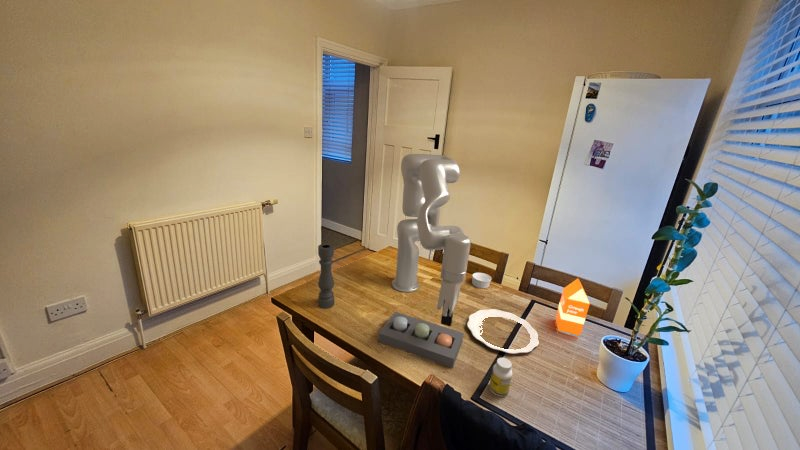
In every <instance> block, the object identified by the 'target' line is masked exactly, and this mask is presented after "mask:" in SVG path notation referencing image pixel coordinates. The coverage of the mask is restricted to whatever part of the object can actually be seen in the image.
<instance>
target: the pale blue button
mask: <svg viewBox="0 0 800 450" xmlns="http://www.w3.org/2000/svg"><path fill="white" fill-rule="evenodd" d="M393 329H394V330H396V331H399V332H405V331H406V330H407V319H406V318H404V317H396V318H394V323H393Z"/></svg>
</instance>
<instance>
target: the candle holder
mask: <svg viewBox="0 0 800 450" xmlns="http://www.w3.org/2000/svg"><path fill="white" fill-rule="evenodd" d="M317 250H318V251H317V255H318V256H319V259H320V260H319V261H318V264H319V265H320V274H319V278H318V282H317V285H318V288H319V289H320V292H319V293H318V296H317V297H318V298H317V305H318V307H319V308H320V309H322V310H327V309H331V308H333V307H334V306H335V296H334V294H335V293H334V291H333V288H334V286H335V281H334V278H333V277H334V276H333V273H332V265H333V264H334V260H333V259H332V258H333V257H334V254H335V246H334V244H332V243H320V244H319V245H318V246H317Z"/></svg>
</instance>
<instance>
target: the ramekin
mask: <svg viewBox="0 0 800 450" xmlns="http://www.w3.org/2000/svg"><path fill="white" fill-rule="evenodd" d="M471 278H472V280H471V283H472V285H473V287H476V288H478V289H482V288H483V289H484V288H485V289H487V288H489V287H490V285H491V282H492V276H490V275H489V274H488V273H487V274H486V273H483V272H474V273H472V275H471Z"/></svg>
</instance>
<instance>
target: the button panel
mask: <svg viewBox="0 0 800 450" xmlns="http://www.w3.org/2000/svg"><path fill="white" fill-rule="evenodd" d="M396 317H404V318H406V319H407V330H406V331H405V332H399V331H396V330H394V329H393V323H394V318H396ZM419 323H424V324H426V325H428V326H429V336H428V338H427V339H424V340H423V339H420V338H417V337H415V326H416V325H417V324H419ZM439 334H448V335H449V336H451V338H452V344H451V349H450V348H447V347H444V346H441V345H438V344H437V337H438V335H439ZM377 335H378V336H377V342H378V343H380V344H384V345H386V346H389V347H391V348H394V349H397V350H400V351H403V352H406V353H408V354H411V355H415V356H417V357H420V358H422V359H425V360H428V361H432V362H434V363H437V364H440V365H443V366H445V367H449V368H451V369H453V368H454V366H455V363H456V360H457V357H458V354H459V352H460V350H461V347H462V344H463V340H464V335H465V334H464V332H462V331H459V330H456V329H452V328H449V327H447V326H444V325H443V326H441V325H440V324H437V323H433V322H429V321H427V320H423V319H419V318H416V317H413V316H412V315H411V316H410V315H407V314H404V313H400V312H397V311H394V313H393V314H392V315H391V316H390V317H389V319H388V320H387V322H386V323H385V324H384V325H383V326H382V328H381V329H380V330H379V331H378V334H377Z"/></svg>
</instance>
